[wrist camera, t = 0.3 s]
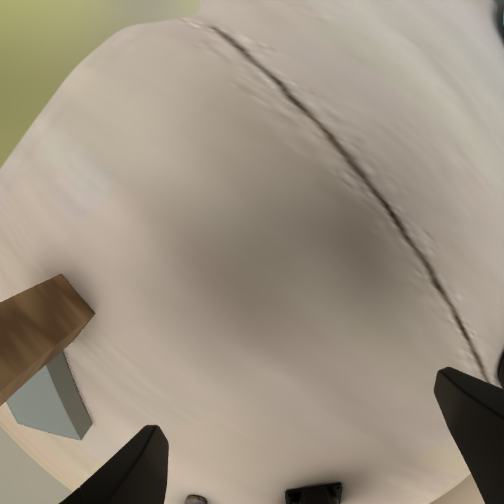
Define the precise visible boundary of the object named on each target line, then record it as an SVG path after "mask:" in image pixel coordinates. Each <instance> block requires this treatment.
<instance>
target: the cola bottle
mask: <svg viewBox="0 0 504 504" xmlns="http://www.w3.org/2000/svg"><path fill="white" fill-rule="evenodd" d="M499 379H500V384H501V386H502V388H503V389H504V358H503V360H502V363H501V367H500V372H499Z"/></svg>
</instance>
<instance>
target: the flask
mask: <svg viewBox="0 0 504 504" xmlns="http://www.w3.org/2000/svg"><path fill="white" fill-rule="evenodd" d="M197 497H198V496H197ZM197 497H196V496H195V497H194V496H192V495H191V496H189V497H188V498H187V499H186V501H185V504H207V502H206V500H205V499H203V498H202V497H198V498H199V499H200V500H199V499H198V498H197Z"/></svg>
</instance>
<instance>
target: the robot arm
mask: <svg viewBox="0 0 504 504" xmlns="http://www.w3.org/2000/svg"><path fill="white" fill-rule="evenodd" d="M434 394H435V397H436V399H437V401H438V404H439V406H440V409H441V411H442V414H443V416H444V419H445V421H446V424H447V426H448V429H449V431H450V433H451V435H452V437H453V438H454V440H455V442H456V444H457V446H458V448H459V450H460V452H461V454H462V456H463V458H464V460H465V462H466V464H467V466H468V468H469V470H470V472H471V474H472V476H473V478H474V480H475V482H476V484H477V487H478V489H479V491H480V493H481V495H482V497H483V500H484V502H485V504H504V389H502V388H499V387H497V386H494V385H492V384H490V383H487V382H485V381H482V380H480V379H478V378H475V377H473V376H470V375H468V374H466V373H463V372H461V371H459V370H456V369H454V368H452V367H446V368H443V369H441V370H439V371H438V372H437V376H436V381H435V386H434ZM168 451H169V444H168V440H167V439H166V437H165V435H164V434H163V432H162V430H161V429H160V427H159V426H158V425H146V426H144V427H143V428H142V429H141V430H140V431H139V432H138V433H137V434H136V435H135V436H134V437H133V438H132V439H131V440H130V441H129V442H128V443H127V444H126V445H125V446H123V447H122V448H121V449H120V450H119V451H118V452H117V453H116V454H115V455H114V456H113V457H112V458H111V459H110V460H108V461H107V462H106V463H105V464H104V465H103V466H102V467H101V468H100V469H99V470H98V471H96V472H95V473H94V474H93V475H92V476H91V477H90V478H89V479H88V480H86V481H85V482H84V483H83V484H82V485H81V486H80V488H77V489H76V490H75V491H74V492H73V493H72V494H70V495H69V496H68V497H67V498H66V499H64V500H63V501H62V502H60V503H59V504H164V500H165V494H166V487H167V474H168ZM341 493H342V484H341V483H336V484H331V485H325V486H319V487H312V488H305V489H297V490H288V491H286V492H285V499H286V504H340V499H341Z"/></svg>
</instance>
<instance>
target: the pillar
mask: <svg viewBox="0 0 504 504" xmlns="http://www.w3.org/2000/svg"><path fill="white" fill-rule="evenodd" d="M94 315H95V312H94V311H93V310H92V309H91V308H90V307H89V306H88V305H87V304H86V302H85V301H84V300H83V299H82V298H81V297H80V296H79V294H78V293H77V292H76V291H75V290H74V288H73V287H72V286H71V285H70V284H69V283H68V281H67V280H66V279H65V278H64V276H63V275H62V274H60V275H58V276H56V277H53V278H51V279H49V280H47V281H45V282H43V283H40V284H38V285H36V286H34V287H32V288H30V289H27V290H25V291H23V292H21V293H19V294H17V295H15V296H13V297H11V298H9V299H7V300H5V301H3V302H0V406H1V405H2V404H3V403H4V402H5V401H7V400H8V399H9V398H10V397H11V396H12V395H13V394H14V393H15V392H16V391H17V390H18V389H19V388H21V387H22V386H23V385H24V384H25V383H26V382H27V381H28V380H29V379H31V378H32V377H33V376H34V375H35V374H36V373H37V372H38V371H39V370H41V369H42V368H43V367H44V366H45V365H46V364H47V363H48V362H50V361H51V360H52V359H53V358H54V357H55V356H56V355H58V354H59V353H60V352H61V351H62V350H63V349H65V348H66V347H67V346H68V345H69V344H70V343H71V342H72V341H73V340H74V339H75V338H76V336H77V335H78V334H79V333H80V332H81V330H82V329H83V328H84V327H85V325H86V324H87V323H88V322H89V321H90V319H91V318H92V317H93V316H94Z"/></svg>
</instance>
